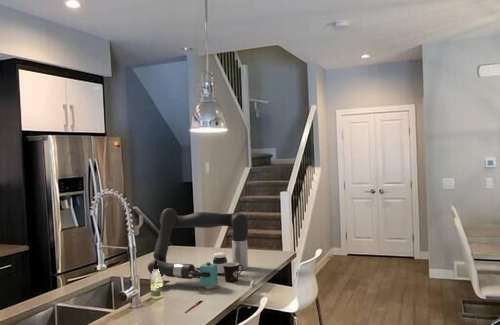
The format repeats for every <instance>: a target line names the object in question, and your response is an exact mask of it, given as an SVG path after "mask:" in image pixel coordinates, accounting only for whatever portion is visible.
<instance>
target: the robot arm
mask: <svg viewBox="0 0 500 325" xmlns="http://www.w3.org/2000/svg"><path fill="white" fill-rule="evenodd" d="M159 223H160V229H159V233H158V237H157V239H156V243H155V246H154V251H153V254H152V255H153V259H154V260H152V261H150V262H149V263H148V264H147V270H148V272H149V273H150V274H151V275H152V271H153V266H154V262H155V261H157V264H158V267H159V271H160V274H161V278H162V277H163V276H165V277H169V278H177V279H183V280H184V279H185V280H192V279H200V277H201V278H202V277H210V273H206V272H200V266H199V267H195V265H194V264H192V263H191V264H190V263H171V262H170V263H169V262H167V255H168V252H169V250H168V249H169V245H170V240H171V233H172V230H173V229H179V228H197V229H205V228H206V229H208V228H209V229H210V228H211V229H212V228H216V227H217V228H218V227H231V228H232V236H231V250H232V262H234V263H239V265H242V266H243V270H242V271H245V270H247V269H249V260H248V259H249V254H248V253H249V252H248V236H249V235H248V234H249V222H248V218H247V216H245V214H242V213H241V212H234V213H232V212H231V213H218V212H217V213H216V212H211V211H210V212H205V211H198V212H194V213H191V214H186V215H178V214H177V211H176V210H175V209H174V208H170V207H169V208H165V209H164V210H162V212H161V214H160V218H159ZM242 266H239V271H241V269H242Z"/></svg>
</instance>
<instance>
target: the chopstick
mask: <svg viewBox="0 0 500 325" xmlns="http://www.w3.org/2000/svg"><path fill="white" fill-rule="evenodd" d="M203 302H204V300H199V301H198V302H196V303H195V304H194V305H192V306H191V307H190V308H189V309H187V310H185V312H184V314H186V313H188V312H190V311H191V310H193V309H194V308H196V307H197V306H199V305H200V304H201V303H203Z"/></svg>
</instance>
